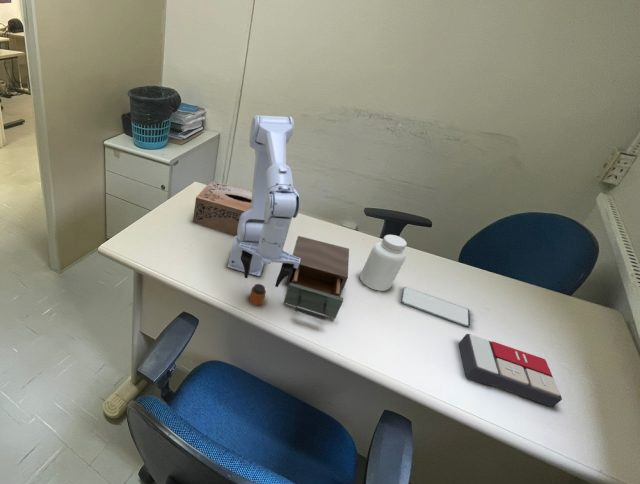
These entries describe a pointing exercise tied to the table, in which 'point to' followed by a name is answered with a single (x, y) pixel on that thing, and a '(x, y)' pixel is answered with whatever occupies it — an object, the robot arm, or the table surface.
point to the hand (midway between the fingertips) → (261, 280)
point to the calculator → (508, 369)
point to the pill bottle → (384, 263)
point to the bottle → (257, 294)
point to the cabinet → (321, 259)
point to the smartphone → (436, 306)
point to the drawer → (314, 293)
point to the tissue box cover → (222, 206)
